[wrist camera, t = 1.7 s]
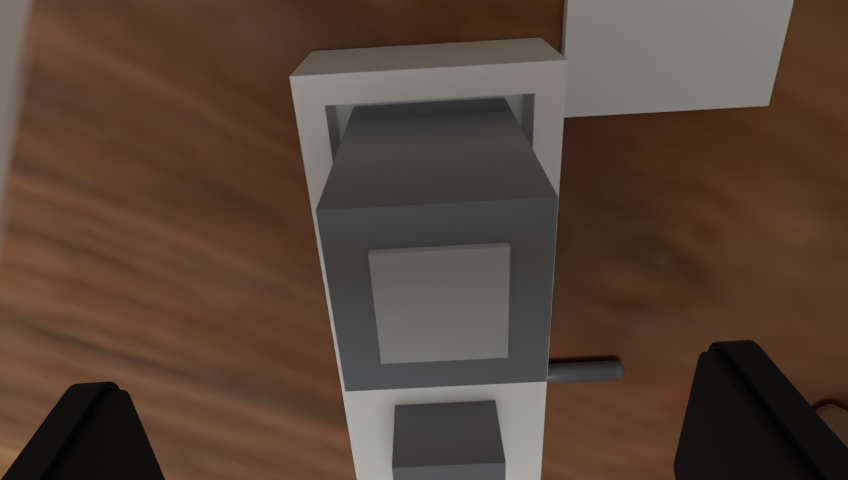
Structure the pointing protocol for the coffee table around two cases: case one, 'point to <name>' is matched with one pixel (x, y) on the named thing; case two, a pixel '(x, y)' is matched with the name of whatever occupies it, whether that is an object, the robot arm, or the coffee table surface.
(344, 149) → the block
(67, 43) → the coffee table surface
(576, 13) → the felt pad
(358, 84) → the power strip
